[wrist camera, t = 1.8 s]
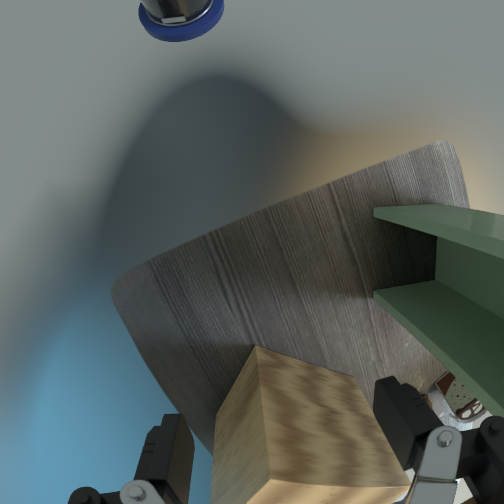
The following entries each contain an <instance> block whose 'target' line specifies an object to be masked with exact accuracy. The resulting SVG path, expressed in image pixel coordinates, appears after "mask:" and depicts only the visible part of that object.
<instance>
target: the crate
mask: <svg viewBox="0 0 504 504" xmlns="http://www.w3.org/2000/svg"><path fill="white" fill-rule="evenodd" d="M410 486H411V482H410V480H409V478H408V476H407V474H406V473H405V471H403V469H402V467H401V465H400V463H399V461H398V459H397V458H396V456H395V454H394V452H393V450H392V448H391V446H390V444H389V442H388V441H387V439H386V437H385V435H384V433H383V431H382V429H381V428H380V426H379V424H378V422H377V420H376V418H375V415H374V413H373V411H372V409H371V408H370V406H369V404H368V402H367V400H366V399H365V397H364V395H363V393H362V391H361V390H360V388H359V386H358V384H357V383H356V381H355V379H354V377H352V376H349V375H345V374H342V373H338V372H335V371H332V370H329V369H325V368H322V367H319V366H316V365H313V364H310V363H306V362H303V361H300V360H297V359H294V358H291V357H288V356H285V355H283V354H280V353H277V352H274V351H271V350H268V349H265V348H263V347H260V346H257V345H255V346H254V348H253V350H252V352H251V354H250V356H249V357H248V359H247V361H246V363H245V365H244V367H243V368H242V370H241V372H240V374H239V376H238V377H237V379H236V381H235V383H234V384H233V386H232V388H231V390H230V392H229V393H228V395H227V397H226V399H225V400H224V402H223V404H222V406H221V407H220V409H219V411H218V413H217V414H216V425H215V438H214V452H213V468H212V483H211V500H210V504H392V503H393V502H394V501H396V500H397V499H398V498H399V497H400V496H402V495H403V494H404V493H405V492H406V491H407V490H408V489H410Z"/></svg>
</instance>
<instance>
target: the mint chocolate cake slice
mask: <svg viewBox="0 0 504 504" xmlns="http://www.w3.org/2000/svg"><path fill="white" fill-rule="evenodd" d="M435 385H436V386H437V388H438V389H439V391H440V392H441V394H442V395H443V397H444V399H445V400H446V402H447V403H448V405H449V407H450V408H451V410H452V411H453V413H454V415H455V416H456V417H454V416H453V415H451V414H450V416H451V417H452V418H454V419H455V420H456V421H458V422H461V423H470V422H472V421H475V420H476V419H478V418H479V417H481V416H482V415H484V414H485V413H486V412H487V411H488V410H487V409H486V408H485V407H484V406H483V405H482V404H481V403H480V402H479V401H478V400H477V398H476V397H475V396H474V395H473V394H472V393H471V392H470V391H469V390H468V389H467V388H466V387H465V386H464V385H463V384H462V383H461V382H460V381H459V380H458V379H457V378H456V377H455V376H454V375H453V374H452V373H451V372H450V371H447V372H446V373H445V374H444V375H443V376H442V377H441V378H439V379H438V380H437V381H436V382H435Z"/></svg>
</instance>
